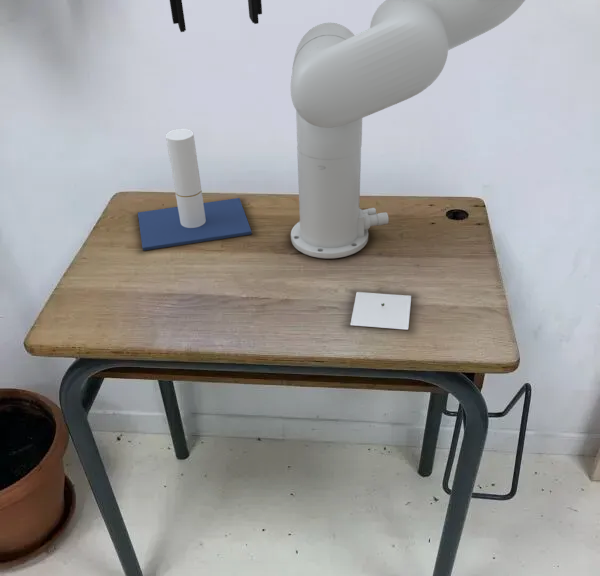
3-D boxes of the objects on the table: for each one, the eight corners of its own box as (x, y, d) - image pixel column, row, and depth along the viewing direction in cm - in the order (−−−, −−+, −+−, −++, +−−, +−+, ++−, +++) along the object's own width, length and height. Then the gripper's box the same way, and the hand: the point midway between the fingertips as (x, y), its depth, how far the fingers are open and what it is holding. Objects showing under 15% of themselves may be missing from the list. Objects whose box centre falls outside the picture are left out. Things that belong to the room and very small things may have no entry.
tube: (201, 228, 115) (188, 140, 105) (177, 226, 116) (161, 139, 106) (208, 216, 118) (196, 129, 108) (185, 214, 119) (170, 128, 109)
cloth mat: (239, 200, 123) (239, 197, 123) (251, 234, 115) (251, 231, 114) (138, 215, 121) (137, 212, 120) (143, 250, 112) (142, 247, 112)
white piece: (350, 325, 96) (350, 320, 96) (356, 292, 102) (356, 287, 101) (408, 329, 95) (408, 325, 94) (411, 295, 101) (411, 291, 100)
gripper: (126, -128, 76) (155, 41, 88) (280, -140, 78) (288, 26, 90) (123, -136, 81) (150, 24, 93) (267, -147, 84) (276, 10, 95)
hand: (218, 24), depth 92 cm, fingers open, 9 cm apart
